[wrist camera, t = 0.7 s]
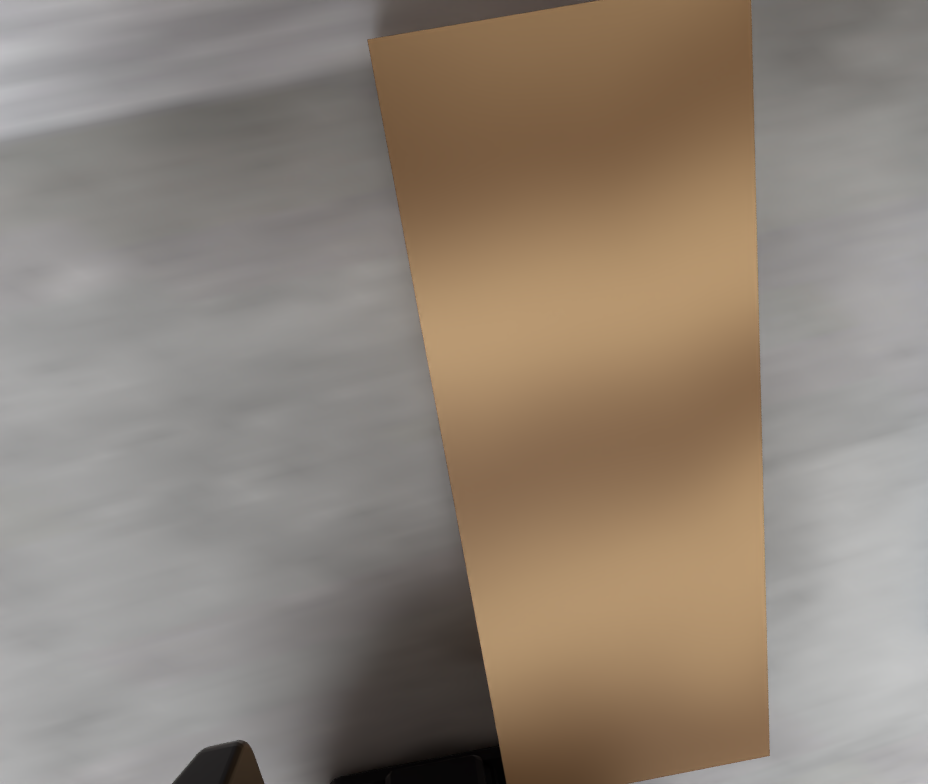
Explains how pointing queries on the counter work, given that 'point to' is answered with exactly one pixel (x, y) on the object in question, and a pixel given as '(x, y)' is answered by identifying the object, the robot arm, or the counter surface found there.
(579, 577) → the shelf plank
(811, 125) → the counter surface
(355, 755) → the counter surface
